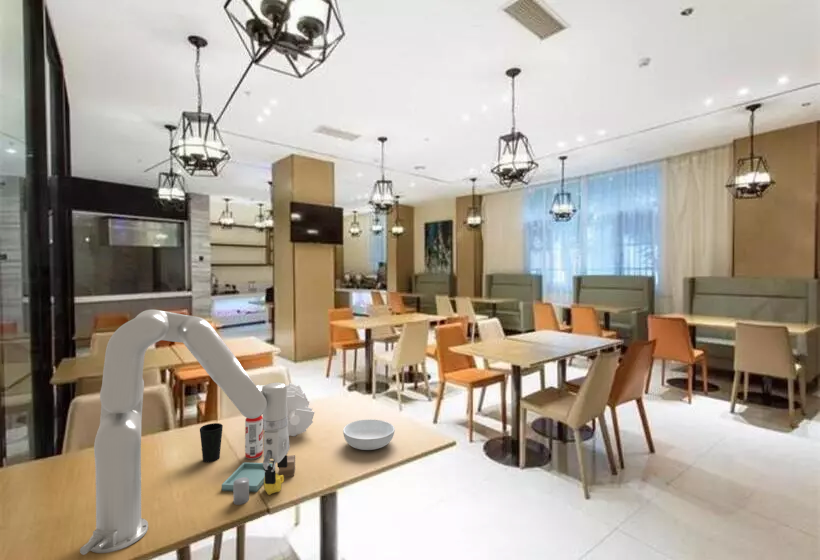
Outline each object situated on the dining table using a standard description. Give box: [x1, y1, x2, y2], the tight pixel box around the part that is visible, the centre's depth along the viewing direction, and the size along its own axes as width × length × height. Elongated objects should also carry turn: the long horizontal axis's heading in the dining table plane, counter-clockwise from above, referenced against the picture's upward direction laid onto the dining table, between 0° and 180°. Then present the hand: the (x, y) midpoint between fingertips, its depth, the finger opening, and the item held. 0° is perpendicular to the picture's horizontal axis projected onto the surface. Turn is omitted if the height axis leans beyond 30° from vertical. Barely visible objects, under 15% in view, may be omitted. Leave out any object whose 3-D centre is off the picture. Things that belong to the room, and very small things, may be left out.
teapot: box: [263, 472, 285, 496], centre depth 124 cm, size 8×6×5 cm
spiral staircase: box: [285, 382, 316, 437], centre depth 174 cm, size 18×18×25 cm
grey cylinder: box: [232, 477, 250, 506], centre depth 119 cm, size 4×4×6 cm
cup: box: [199, 422, 224, 463], centre depth 145 cm, size 8×8×12 cm
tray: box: [221, 461, 276, 493], centre depth 131 cm, size 15×12×2 cm
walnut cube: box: [278, 454, 296, 478], centre depth 135 cm, size 5×5×5 cm
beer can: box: [244, 415, 264, 460], centre depth 147 cm, size 6×6×16 cm
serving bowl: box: [342, 418, 396, 451], centre depth 158 cm, size 21×21×7 cm
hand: (276, 474), depth 125 cm, fingers open, 9 cm apart
